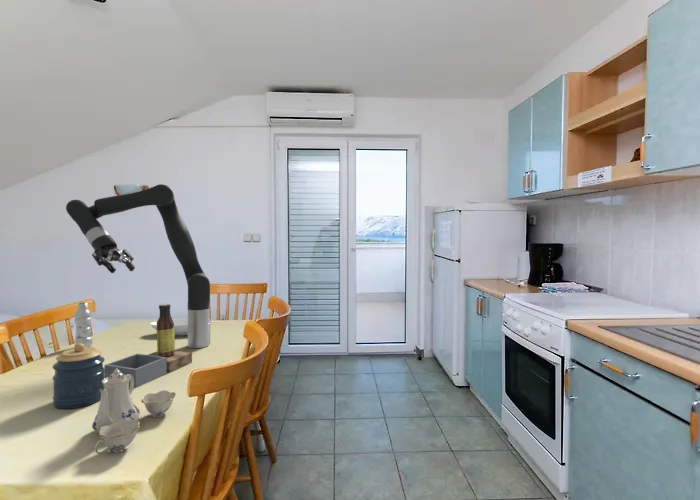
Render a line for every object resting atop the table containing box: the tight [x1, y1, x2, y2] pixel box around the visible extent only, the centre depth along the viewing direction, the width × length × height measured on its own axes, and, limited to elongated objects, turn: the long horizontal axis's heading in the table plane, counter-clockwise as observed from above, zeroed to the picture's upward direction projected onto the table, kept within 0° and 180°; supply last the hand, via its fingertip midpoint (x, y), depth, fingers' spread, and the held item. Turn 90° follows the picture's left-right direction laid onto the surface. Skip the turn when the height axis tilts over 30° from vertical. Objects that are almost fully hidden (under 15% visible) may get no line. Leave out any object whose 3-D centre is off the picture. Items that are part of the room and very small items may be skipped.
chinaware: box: [91, 368, 177, 455], centre depth 100 cm, size 28×17×17 cm, turn 3°
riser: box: [147, 350, 193, 373], centre depth 149 cm, size 12×14×4 cm
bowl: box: [149, 318, 214, 336], centre depth 196 cm, size 30×15×6 cm, turn 105°
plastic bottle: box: [73, 301, 93, 347], centre depth 169 cm, size 6×7×20 cm
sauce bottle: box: [156, 303, 176, 357], centre depth 149 cm, size 7×6×20 cm
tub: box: [103, 353, 168, 388], centre depth 135 cm, size 14×14×6 cm
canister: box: [52, 343, 105, 410], centre depth 116 cm, size 13×13×18 cm
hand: (123, 270), depth 149 cm, fingers open, 8 cm apart
